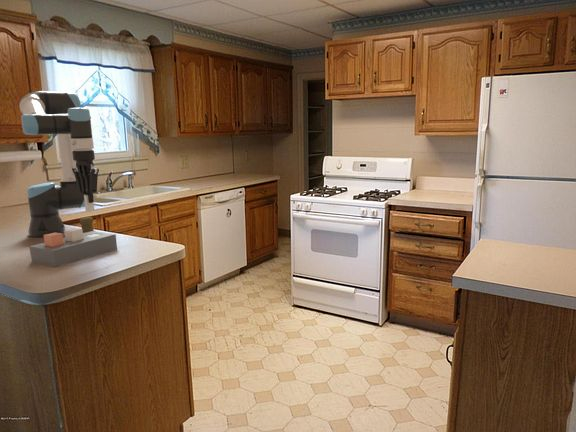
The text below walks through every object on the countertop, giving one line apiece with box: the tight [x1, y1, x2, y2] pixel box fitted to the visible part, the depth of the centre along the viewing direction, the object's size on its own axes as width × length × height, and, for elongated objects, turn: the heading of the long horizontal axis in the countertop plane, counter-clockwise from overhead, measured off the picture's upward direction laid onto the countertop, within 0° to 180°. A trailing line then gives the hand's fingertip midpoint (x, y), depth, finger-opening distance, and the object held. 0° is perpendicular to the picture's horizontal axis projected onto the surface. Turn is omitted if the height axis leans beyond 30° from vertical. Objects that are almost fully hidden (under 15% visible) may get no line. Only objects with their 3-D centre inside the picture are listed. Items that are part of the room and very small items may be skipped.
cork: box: [79, 216, 94, 233], centre depth 182 cm, size 6×6×11 cm
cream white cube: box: [64, 227, 83, 242], centre depth 162 cm, size 4×4×4 cm
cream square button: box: [86, 234, 100, 237], centre depth 170 cm, size 4×4×4 cm
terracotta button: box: [43, 233, 64, 247], centre depth 155 cm, size 4×4×4 cm
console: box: [29, 230, 118, 268], centre depth 163 cm, size 14×26×6 cm, turn 151°
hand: (90, 210), depth 168 cm, fingers closed
